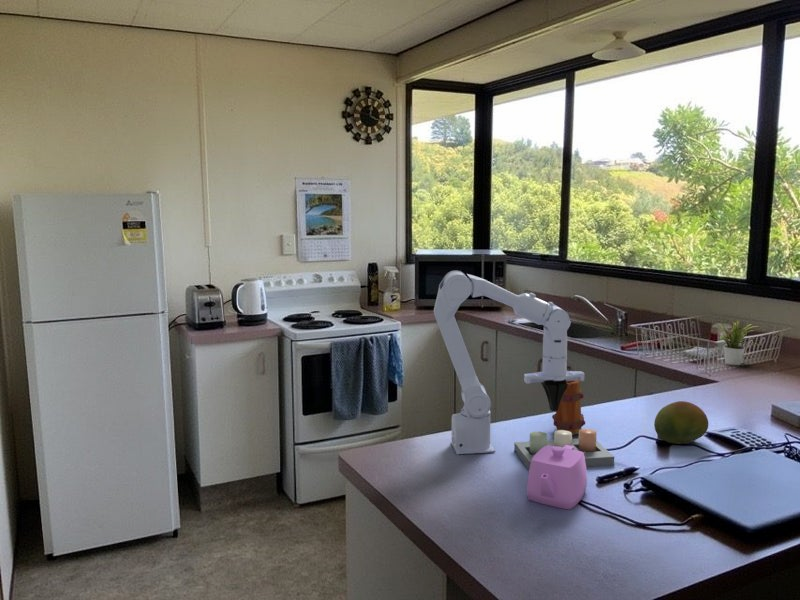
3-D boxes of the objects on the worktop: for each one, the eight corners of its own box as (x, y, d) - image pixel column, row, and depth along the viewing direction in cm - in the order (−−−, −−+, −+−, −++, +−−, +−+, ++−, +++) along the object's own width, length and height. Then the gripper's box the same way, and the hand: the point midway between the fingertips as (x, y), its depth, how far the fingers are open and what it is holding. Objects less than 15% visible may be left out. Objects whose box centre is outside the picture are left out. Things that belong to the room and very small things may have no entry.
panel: (529, 470, 145) (529, 461, 145) (514, 450, 157) (514, 442, 156) (614, 464, 147) (614, 456, 147) (593, 445, 159) (593, 437, 158)
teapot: (568, 520, 122) (569, 469, 120) (516, 507, 127) (516, 458, 126) (594, 485, 137) (595, 439, 135) (546, 474, 143) (547, 430, 141)
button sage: (532, 455, 149) (532, 438, 148) (527, 449, 153) (527, 431, 152) (549, 454, 149) (549, 437, 149) (543, 448, 153) (543, 431, 152)
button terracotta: (582, 452, 150) (582, 435, 149) (575, 446, 154) (576, 429, 153) (598, 451, 150) (599, 434, 150) (591, 445, 154) (592, 428, 154)
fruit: (712, 440, 161) (714, 402, 159) (694, 455, 152) (697, 415, 150) (665, 430, 168) (667, 393, 167) (646, 443, 159) (647, 405, 158)
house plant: (766, 368, 227) (769, 323, 224) (727, 369, 227) (729, 324, 225) (745, 359, 241) (748, 316, 239) (708, 359, 241) (710, 317, 239)
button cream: (557, 454, 149) (557, 436, 149) (551, 447, 153) (552, 430, 153) (574, 453, 150) (574, 435, 149) (567, 446, 154) (568, 429, 153)
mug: (587, 438, 163) (585, 381, 160) (554, 439, 164) (552, 382, 161) (580, 418, 177) (577, 365, 174) (549, 419, 178) (547, 367, 176)
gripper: (530, 361, 151) (529, 416, 153) (590, 358, 152) (588, 413, 154) (521, 354, 157) (521, 407, 159) (578, 351, 159) (577, 404, 161)
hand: (553, 410), depth 157 cm, fingers closed
